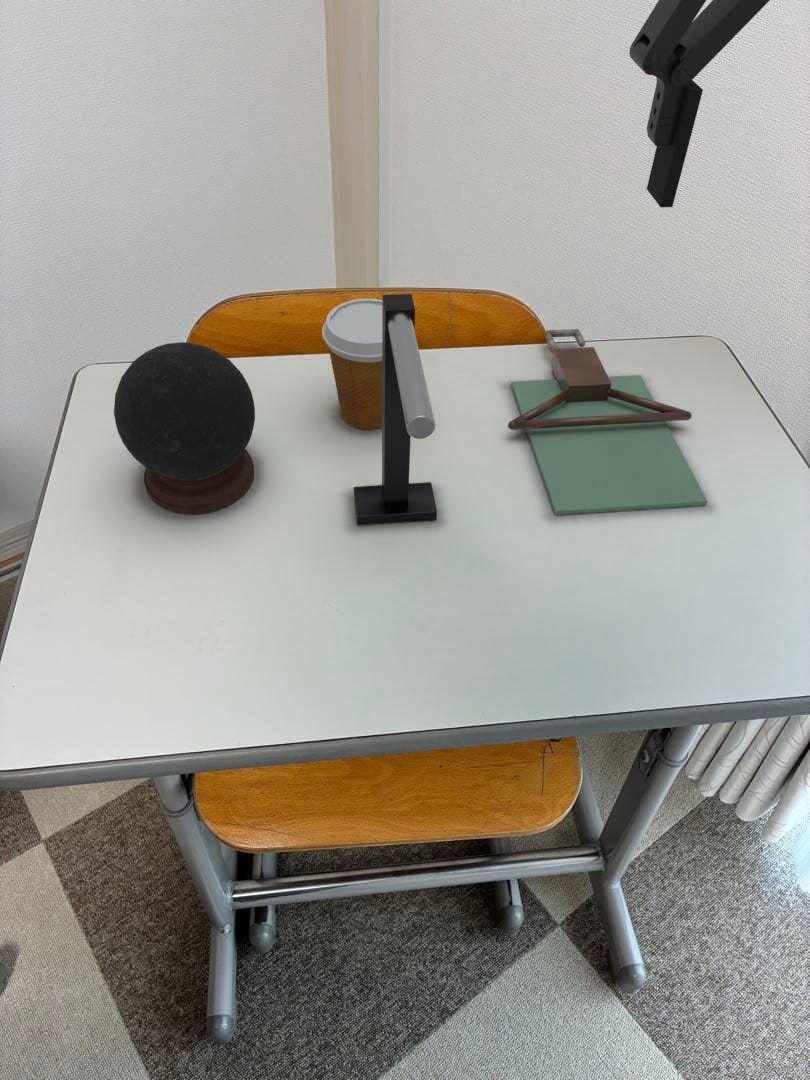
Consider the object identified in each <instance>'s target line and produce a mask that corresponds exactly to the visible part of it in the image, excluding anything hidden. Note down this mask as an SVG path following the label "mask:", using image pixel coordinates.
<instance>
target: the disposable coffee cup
mask: <svg viewBox="0 0 810 1080" xmlns="http://www.w3.org/2000/svg"><path fill="white" fill-rule="evenodd" d="M321 333H322V338H323V341H324V342H325V345H326V346H327V347H328V353H329V358H330V364H331V368H332V373H333V378H334V382H335V389H336V393H337V397H338V403H339V407H340V414H341V417H342V419H343V421H344V422H345V423H347V424H348V425H350V426H352V427H354V428H357V429H361V430H377V429H382V299H377V298H356V299H350V300H348V301H344V302H343V303H340V304H339V305H337V306H334V307H333V308H332V309H331V310H330V311H329V312H328V314H327V316H326V320H325V322H324V323H323V325H322V329H321Z"/></svg>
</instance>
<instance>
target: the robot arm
mask: <svg viewBox="0 0 810 1080" xmlns="http://www.w3.org/2000/svg"><path fill="white" fill-rule="evenodd" d="M770 1H771V0H711V1H710V2H709V3H708V5H706V7H705V8H704V9H703V10H702V11H701V9H702V8H703V6H705V5H704V4H705V3H706V2H707V0H658V1H657V3H656V4H655V5H654V7H653V9H652V11H651V12H650V13H649V15H648V17H647V19H646V20H645V22H644V23H643V25H642V26H641V28H640V30H639V31H638V33H637V35H636V36H635V38H634V39H633V41H632V43H631V45H630V47H629V52H628V55H629V57H630V59H631V60H632V61H633V62H634V63H635V64H636V65H637V66H638V68H639V69H640V70H642V71H643V72H644V73H645V74H646V75H648V76H654V77H655V78H656V84H655V89H654V93H653V98H652V103H651V107H650V112H649V115H648V116H649V117H648V120H647V124H646V133H647V137H648V139H649V140H650V142H651V143H652V144H653V145H654V146H655V151H654V156H653V160H652V164H651V169H650V174H649V177H648V182H647V186H646V191H648V193H649V194H650V196H651V197H652V198H653V200H654V201H655V202H656V204H657V205H658V206H659V208H673V207H674V202H675V198H676V196H677V195H676V194H677V191H678V187H679V183H680V179H681V176H682V172H683V168H684V164H685V160H686V157H687V153H688V148H689V145H690V142H691V137H692V133H693V130H694V126H695V122H696V119H697V114H698V110H699V106H700V103H701V100H702V96H703V91H704V89H703V88H702V87H700V85H698V83H696V82H695V81H694V79H695V78H696V77H697V76H698V75H699V74H700V73H701V72H702V71H703V70H704V68H706V66H707V65H709V63H711V61H712V60H713V59H714V58H715V57H717V55H718V54H719V53H721V51H722V50H723V49H724V48H725V47H726V46H727V45H728V44H729V43H730V42H731V41H732V40H733V39H734V38H735V36H737V35H738V34H739V33H740V32H741V31H742V29H744V27H745V26H746V25H748V24H749V22H750V21H752V20H753V19H754V17H755V16H756V15H757V14H758V13H759V12H760V11H761V10H763V8H764V7H765V6H766V5H767V4H769V2H770ZM700 11H701V12H700ZM699 12H700V13H699Z"/></svg>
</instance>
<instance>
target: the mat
mask: <svg viewBox="0 0 810 1080" xmlns="http://www.w3.org/2000/svg"><path fill="white" fill-rule="evenodd" d="M608 377H609V380H610V382H611V388H613V389H616V390H619V391H623V392H626V393H629V394H632V395H636V396H639V397H642V398H646V399H649V400H652V401H655V399H654V397H653V396H652V394H651V392H650V390H649V388H648V387H647V385H646V383H645V380H644V379H643V378H642V375H640V374H636V375H619V376H618V375H617V376H615V375H614V376H608ZM510 387H511V390H512V393H513V396H514V399H515V402H516V405H517V407H518V411H519V414H520V416H521V415H523V414H524V413H526V412H528V411H530V410H532V409H533V408H535V407H537V406H539V405H541V404H542V403H544V402H546V401H548V400H550V399H551V398H553V397H555V396H557V395H558V394H560V393H562V392H561V389H560V387H559V384H558V382H557V379H556V378H555V379H537V380H536V379H535V380H517V381H515V380H514V381H511V382H510ZM647 413H661V412H657V411H654V410H651V409H648V408H644V407H641V406H638V405H634V404H631V403H628V402H625V401H621V400H618V399H615V398H612V397H608V399H607V400H605V401H586V402H566V401H564V402H562V403H560V404H559V405H557V406H555V407H553V408H552V409H550V410H548V411H546V412H544V413H543V414H541V415H539V416H537V417H536V418H534V419H532V420H536V419H555V418H573V417H591V416H610V415H628V414H647ZM525 431H526V434H527V437H528V440H529V443H530V446H531V449H532V451H533V455H534V457H535V461H536V464H537V467H538V469H539V472H540V475H541V478H542V481H543V484H544V487H545V490H546V493H547V496H548V499H549V502H550V505H551V507H552V510H553V513H554V516H562V515H575V514H591V513H592V514H593V513H606V512H607V513H608V512H620V511H621V512H623V511H638V510H639V511H640V510H652V509H654V510H655V509H669V508H682V507H685V508H686V507H697V506H698V507H700V506H706V505H707V503H708V499H707V497H706V496H705V494H704V492H703V490H702V489H701V488H702V487H701V486H700V484H699V482H698V481H697V479H696V476H695V475H694V473H693V471H692V469H691V468H690V465H689V463H688V461H687V460H686V457H685V456H684V454H683V452H682V451H681V448H680V446H679V445H678V443H677V441H676V440H675V436H674V435H673V433H672V431H671V429H670V428H669V426H668V424H667V421H666V422H648V423H630V424H611V425H593V426H575V427H557V428H539V429H525Z"/></svg>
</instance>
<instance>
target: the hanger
mask: <svg viewBox="0 0 810 1080" xmlns="http://www.w3.org/2000/svg"><path fill="white" fill-rule="evenodd" d="M543 337H544V340H545V342H546V344H547V347H548V349H549V352H550V353H551V354H552V356H551V362H550V367H551V369H552V372H553V374H554V377H555V379H557V382H558V384H559V387H560V389H561V392H562V393H560V394H558V395H557V396H555V397H553V398H551V399H550V400H548V401H546V402H544V403H542V404H541V405H539V406H537V407H535V408H533V409H532V410H530V411H528V412H526V413H524V414H523V415H521V414H520V415H519V416H517V417H516V418H514V419H512V420H510V421H509V422H508V423H507V428H508V429H509V430H510V431H519V430H526V429H539V428H557V427H575V426H593V425H611V424H630V423H648V422H666V423H667V422H680V421H681V422H682V421H690V420H691V419H692V417H693V414H692V412H691V411H688V410H685V409H682V408H678V407H675V406H672V405H669V404H665V403H662V402H659V401H656V400H654V401H652V400H649V399H646V398H642V397H639V396H636V395H632V394H629V393H626V392H623V391H619V390H616V389H613V388H611V382H610V380H609V377H610V376H609V375H608V373H607V371H606V369H605V367H604V364H603V363H602V361H601V359H600V357H599V355H598V352H597V351H596V349H595V347H594V346H588V347H587V346H586V341H585V339H584V336H583V334H582V333H581V330H580V329H579V328H567V329H546V330H545V331H544V332H543ZM570 337H572V338H574V340H575V341H576V343H577V345H578V347H565V348H563V347H562V348H560V347H559V346H557V344H556V341H555V340H554V338H570ZM585 346H586V347H585ZM608 397H612V398H615V399H618V400H621V401H625V402H628V403H631V404H634V405H638V406H641V407H644V408H648V409H651V410H654V411H657V412H660V413H647V414H628V415H610V416H591V417H573V418H555V419H536V420H532V419H534V418H536V417H537V416H539V415H541V414H543V413H544V412H546V411H548V410H550V409H552V408H553V407H555V406H557V405H559V404H560V403H562V402H564V401H566V402H586V401H605V400H607V399H608Z"/></svg>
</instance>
